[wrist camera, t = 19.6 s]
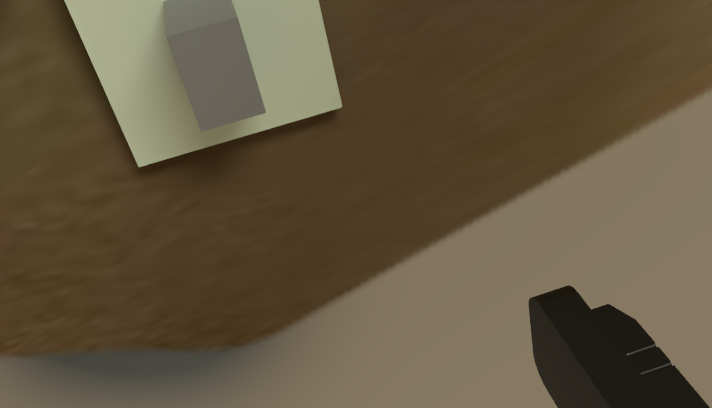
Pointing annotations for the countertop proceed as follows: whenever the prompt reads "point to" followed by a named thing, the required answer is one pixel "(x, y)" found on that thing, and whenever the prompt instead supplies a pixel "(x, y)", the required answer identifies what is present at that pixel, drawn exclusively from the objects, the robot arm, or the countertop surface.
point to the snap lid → (206, 68)
